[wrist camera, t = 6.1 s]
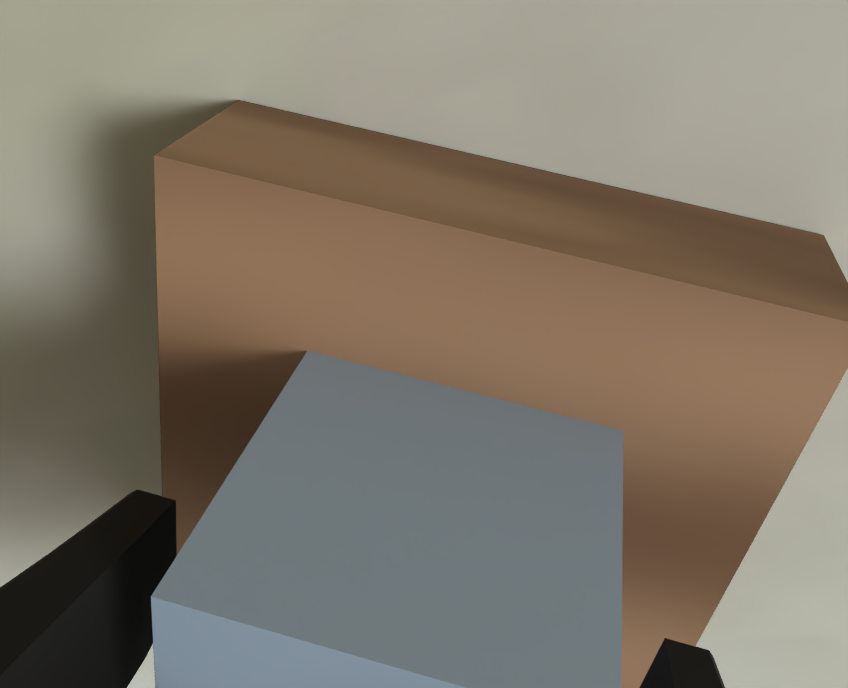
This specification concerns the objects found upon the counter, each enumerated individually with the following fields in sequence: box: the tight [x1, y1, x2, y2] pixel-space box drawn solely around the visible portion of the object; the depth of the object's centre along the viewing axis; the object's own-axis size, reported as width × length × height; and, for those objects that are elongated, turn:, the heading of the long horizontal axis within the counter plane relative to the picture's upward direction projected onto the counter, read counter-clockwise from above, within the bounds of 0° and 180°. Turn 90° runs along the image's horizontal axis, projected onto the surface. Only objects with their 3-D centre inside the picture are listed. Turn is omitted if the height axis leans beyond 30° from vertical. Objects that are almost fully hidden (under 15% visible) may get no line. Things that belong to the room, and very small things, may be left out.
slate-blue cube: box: [151, 351, 623, 688], centre depth 12 cm, size 5×5×5 cm
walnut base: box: [154, 100, 848, 688], centre depth 15 cm, size 10×10×3 cm
